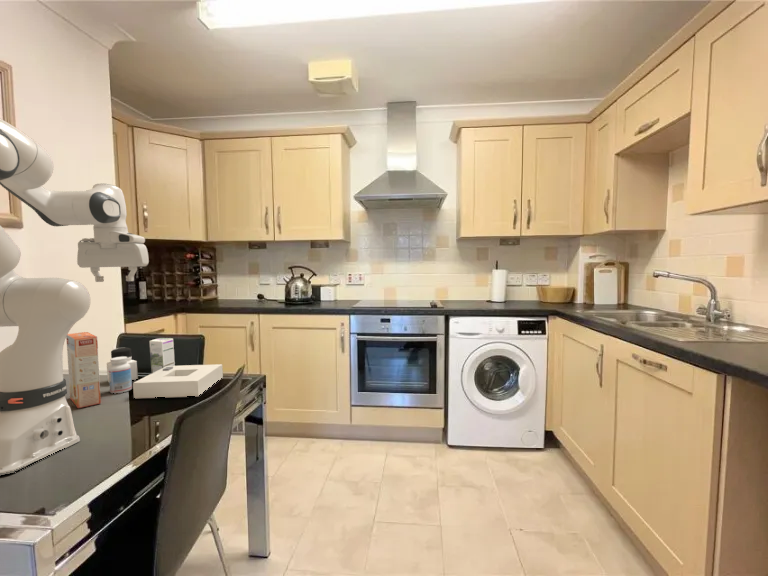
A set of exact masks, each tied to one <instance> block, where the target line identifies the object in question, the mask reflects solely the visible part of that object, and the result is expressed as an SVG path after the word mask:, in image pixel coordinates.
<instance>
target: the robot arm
mask: <svg viewBox="0 0 768 576" xmlns="http://www.w3.org/2000/svg"><path fill="white" fill-rule="evenodd" d="M53 171H54V162H53V158H52V156H51V154H49V152H48V151H47V150H46V149H45V148H44V147H43V146H41V144H39V143H38V142H37V141H35V140H34V139H33V138H31V137H30V136H28V135H27V134H26V133H24V132H23V131H21V130H20V129H19V128H17V127H16V126H14V125H13V124H10V123H9V122H7V121H6V120H4V119H2V118H0V186H1V187H2V188H3V189H4V190H6V191H7V192H9V193H10V194H11V195H13V196H14V197H15V198H17V199H18V200H20V201H21V202H22V203H24V204H25V205H27V207H30V209H32V211H34V212H35V213H36V214H37V215H38V217H39V218H41V220H43V221H44V222H45V223H46V224H47V225H49V226H52V227H65V226H88V225H89V226H93V227H92V229H93V238H92V237H89V238H87V237H86V238H82V239H80V240H79V241H78V242H77V258H76V259H77V260H76V262H77V266H79V268H85V269H87V268H90V272H91V274H92V275H93V276H94V280H95V283H103V282H104V280H105V277H104V275H101V274H100V268H123V267H124V268H125V267H126V268H127V267H128V271H129V273H128V275H125V281H126V282H134V281H135V274H136V272H137V271H138V267H147V266H148V265H149V262H150V260H149V252H148V251H149V250H148V248H147V246H146V245H145V244H144V243H145V242H146V238H145V237H144V236H141V235H139V234H135V233H131V232H129V228H128V224H127V222H126V221H127V212H128V211H127V205H126V199H125V194H124V192H123V190H122V188H120V187H119V186H116V185H114V184H109V183H96V184H94V185H92V188H91V189H88V190H78V191H77V190H75V191H74V190H73V191H72V190H69V191H65V190H64V191H63V190H62V191H61V190H60V191H59V190H51V189H50V190H49V189H46V188H44V187H43V185H45V184H46V183H47V182H48V181H50V179H51V177H52V175H53V173H54V172H53ZM21 256H22V255H21V250H20V248H19V245H17V244H16V243H15V240H13V239H12V238H11V237H10V235H9V234H8V232H6V230H5V229H4V227H2V225H1V224H0V328H2V327H18V332H17V335H16V338H15V340H14V342H13V343H12V344H10V345H8V346H6V347H5V348H3V350H1V351H0V473H6V472H10V471H14V470H16V469H19V468H21V467H23V466H26V465H28V464H30V463H32V462H34V461H37V460H39V459H42V458H44V457H46V456H48V455H50V456H52V455H54V454H56V453H55V452H57V451H59V450H61V451H63V450H65V449H67V448H69V447H71V446H73V445H75V444H77V443H79V442H80V441H81V438H80V436H79V435H78V434H77V431H76V429H75V425H74V423H75V422H74V420H73V415H72V409H71V406H70V405H69V403H68V401H67V399H66V395H67V393H68V390H67V389H68V384H67V380H66V378H64V366H63V365H64V363H63V362H64V361H63V351H64V345H65V341H66V336H67V334H69V332H70V330H71V329H72V328H73V327H74V325H75V324H77V322H79V321H80V320H81V319H83V318H84V317H85V316H86V315H87V313H88V312H89V310H90V306H91V296H90V293H89V291H88V288H86V286H85V285H84V284H83V283H82V282H80V281H78V280H74V279H66V278H61V277H60V278H59V277H22V276H20V275H19V274H17V273H16V272H15V268H16V267H17V266H18V265H19V263H20V260H21ZM64 448H65V449H64ZM62 449H63V450H62ZM59 452H60V451H59ZM53 453H54V454H53ZM57 453H58V452H57ZM51 454H52V455H51ZM48 457H49V456H48ZM46 458H47V457H46ZM44 459H45V458H44ZM42 460H43V459H42Z"/></svg>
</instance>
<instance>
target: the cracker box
mask: <svg viewBox="0 0 768 576" xmlns="http://www.w3.org/2000/svg"><path fill="white" fill-rule="evenodd" d="M65 341H66V350H67V351H66V353H67V354H66V355H67V365H68V366H67V368H68V369H67V370H68V386H69V399H70V400H71V402H72V403H73V404H74V405H75V406H76V408H77V409H83V408H87V407H92V406H97V405H101V384H100V366H99V365H100V364H99V346H98V336H96V335H94V334H92V333H91V332H88V331H83V332H82V331H81V332H74V333H68V334H67V336H66V339H65Z"/></svg>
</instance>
